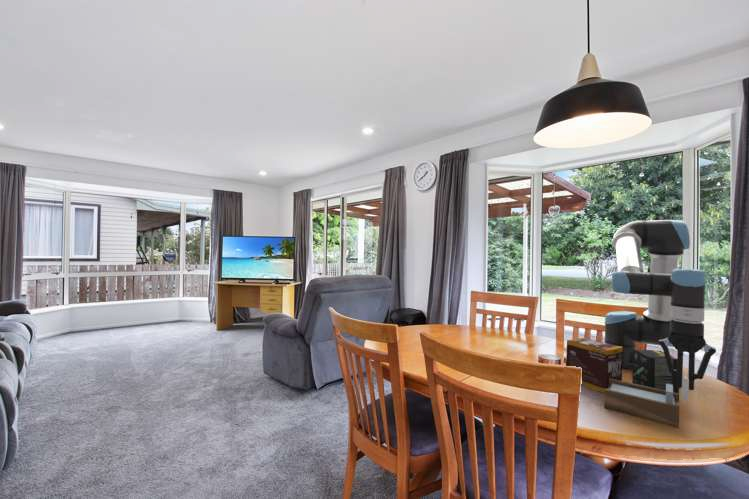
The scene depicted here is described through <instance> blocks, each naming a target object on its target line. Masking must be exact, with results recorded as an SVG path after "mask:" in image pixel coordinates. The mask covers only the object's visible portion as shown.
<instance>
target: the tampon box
mask: <svg viewBox="0 0 749 499" xmlns="http://www.w3.org/2000/svg"><path fill="white" fill-rule="evenodd" d="M670 356H671V360H672V363H673V367H674V369H675V370H677V357H674V356H673V355H671V354H670ZM631 377H632V381H631V383H633V384H638V385H643V386H647V387H652V388H656V389H661V390H666V384H671V385H673V392H675V393H678V403H679V402H680V388H678V387H677V376H676V375H674V374H671V373H670V372H669V369H668V365H667V362H666V358H665V354H664V351H662V350H655V349H654V350H652V349H640V348H636V349H633V369H632V376H631Z"/></svg>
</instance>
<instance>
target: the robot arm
mask: <svg viewBox="0 0 749 499" xmlns="http://www.w3.org/2000/svg"><path fill="white" fill-rule="evenodd" d="M612 245H613V246H612V247H613V248H614V249H615V254H616V255H615V256H616V266H617V271H612V274H611V289H612V291H613V292H614V293H619V294H620V293H621V294H624V295H627V294H631V295H647V296H648V304H647V306H648V308H647V309H646V310H645V311H643V314H642V316H640V315H638V313H637V312H635V311H629V310H627V311H625V310H622V311H621V310H619V311H617V310H616V311H609V312H607V313H606V314H605V318H604V323H603V324H604V343H608V344H612V345H616V346H621V347H623V358H622V369H629V370H631V369H632V370H633V349H637V343H638V344H646V345H647V344H648V345H653V346H660V347H661V348H662V350H663V351H662V352H664V354H665V358H666V362H667V365H668V369H669V372H670V373H671V374H674V375H676V376H677V387H678V388H679V389H681V393H680V394H681V395H680V396H681V401H683V402H689V395H690V392H689V391H694V390H695V381H696V380H702V379H703V378H704V376H705V374H706V371H707V369H708V365H709V363H710V361H711V358H712V356H713V355H714V354H716V353H717V350H716V348H715V347H714V346H711V345H710V344H708V343H707V341H706V339H705V324H704V323H703V322H705V301H706V300H705V297H706V296H705V293H706V284H707V280H706V273H705V272H704V270H701V269H691V268H678V262H679V258H680V257H681V256H683V255H684V251H686V250H688V249H689V248H690V245H691V239H690V231H689V227H688V224H687V223H686V222H685V221H683V220H681V219H680V220H679V219H678V220H677V219H658V220H657V219H653V220H651V219H650V220H635V221H631V222H628V223H626V224H624V225H622V226H621V227H619V228H618V229H617V231H615V233H614V234H613V237H612ZM641 249H646V253H647V254H648V255H649V256H650V268H649V269H650V271H649V272H645V271H644V266H643V261H642V259H643V258H642V254H641ZM669 347H670V348H674V349H675V350H677V355H676V356H677V357H676V358H677V370H675V369H674V367H673V363H672V360H671V356H672V355H671V353H670V350H669ZM703 348H704V349H703ZM702 349H703V351H704V354H703V356H702V358H701V362H700V364H699V366H698V370H697V371H696V370H695V367H696V366H695V365H696V362H695V361H696V353H698V352H699V351H700V350H702ZM684 353H688V374H687V376H685V375H683V367H684V366H683V364H684ZM670 355H671V356H670ZM695 371H696V372H695Z"/></svg>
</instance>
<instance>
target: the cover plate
mask: <svg viewBox="0 0 749 499" xmlns="http://www.w3.org/2000/svg"><path fill="white" fill-rule="evenodd" d="M610 390H614V391H618V392H623V393H627V394H631V395H635V396H640V397H644V398H648V399H652V400H657V401H661V402H665V403H670V404H674V397H673V385H671V384H666V395H663V394H658V393H654V392H649V391H645V390H640V389H636V388H631V387H627V386H622V385H618V384H614V383H612V386H611V388H610Z"/></svg>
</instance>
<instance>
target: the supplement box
mask: <svg viewBox="0 0 749 499" xmlns="http://www.w3.org/2000/svg"><path fill="white" fill-rule="evenodd" d="M565 358H566V359H565V360H566V362H565V367H566V366H576V367H581V368H582V385H581V386H583V387H587V388H589V389H592V390H594V391H598V392H601V393H603V394H604V393H605V388H606V389H608V387H609V379H615V380H620V381H623V368H622V358H623V347H621V346H616V345H612V344H608V343H605V341H598V340H595V339H591V338H586V337H578V338H571V339H567V340H566V357H565Z"/></svg>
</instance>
